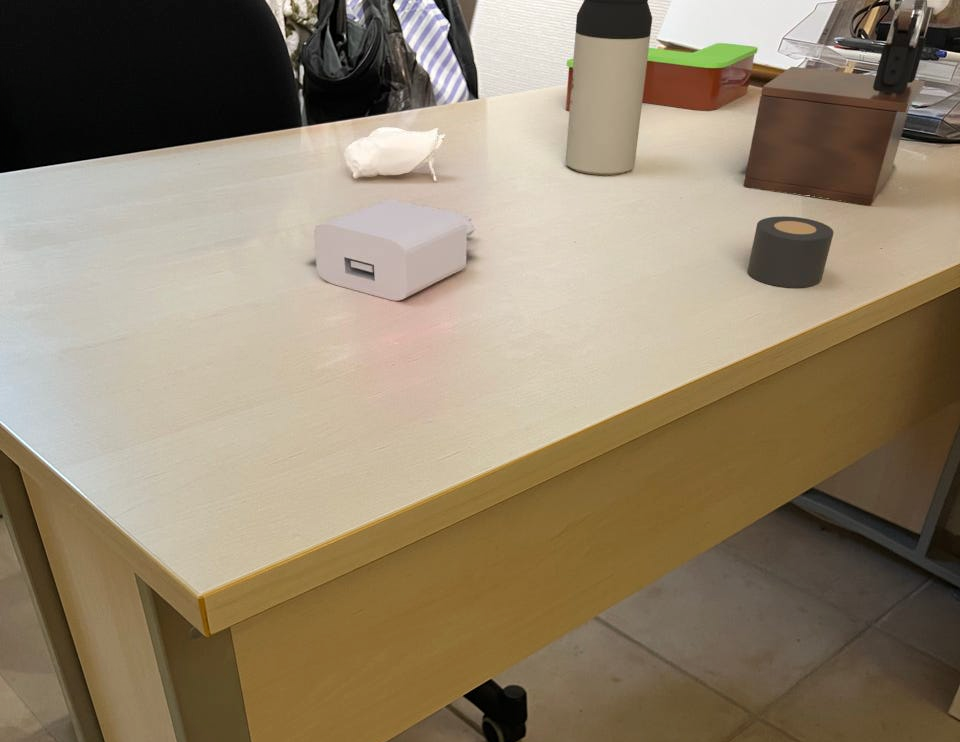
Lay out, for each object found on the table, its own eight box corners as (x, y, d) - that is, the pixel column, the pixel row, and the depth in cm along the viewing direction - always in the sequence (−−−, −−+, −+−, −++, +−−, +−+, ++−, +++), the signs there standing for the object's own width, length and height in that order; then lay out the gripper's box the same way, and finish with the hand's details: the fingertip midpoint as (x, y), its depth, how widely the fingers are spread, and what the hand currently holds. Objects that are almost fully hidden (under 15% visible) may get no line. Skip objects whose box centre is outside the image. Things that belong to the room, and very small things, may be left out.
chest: (889, 176, 110) (914, 89, 104) (870, 206, 100) (897, 112, 94) (771, 159, 114) (789, 74, 108) (743, 186, 105) (760, 95, 99)
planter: (683, 128, 125) (691, 77, 121) (560, 110, 132) (563, 61, 128) (751, 91, 145) (759, 47, 141) (641, 77, 152) (646, 34, 148)
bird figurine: (426, 181, 107) (339, 160, 104) (442, 120, 102) (352, 95, 99) (431, 202, 104) (342, 181, 101) (448, 140, 99) (355, 116, 96)
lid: (922, 89, 103) (940, 26, 100) (905, 112, 94) (924, 44, 90) (789, 74, 108) (802, 14, 104) (760, 95, 99) (773, 29, 95)
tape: (827, 270, 84) (840, 223, 82) (813, 293, 80) (825, 244, 77) (757, 258, 86) (766, 211, 84) (739, 279, 82) (749, 231, 79)
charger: (503, 254, 85) (406, 304, 76) (420, 234, 89) (317, 279, 79) (506, 198, 82) (404, 243, 72) (419, 180, 86) (312, 220, 76)
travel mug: (645, 166, 110) (669, -22, 98) (613, 180, 105) (635, -16, 93) (586, 154, 113) (602, -28, 102) (552, 168, 108) (565, -23, 97)
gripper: (990, -134, 80) (920, 105, 92) (1003, -135, 92) (939, 77, 104) (898, -138, 82) (842, 96, 94) (922, -138, 94) (869, 69, 106)
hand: (893, 84), depth 99 cm, fingers closed on lid, 6 cm apart
